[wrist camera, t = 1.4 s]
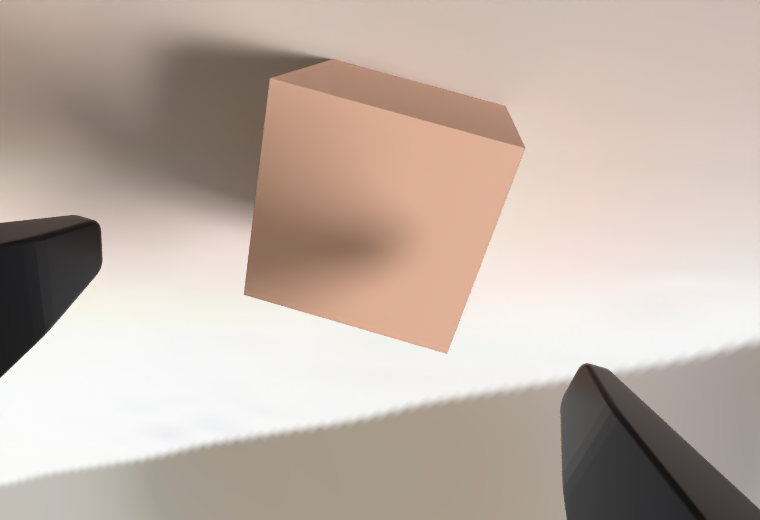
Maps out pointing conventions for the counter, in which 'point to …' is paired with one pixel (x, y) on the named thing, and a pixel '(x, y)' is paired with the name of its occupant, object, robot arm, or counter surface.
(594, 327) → the counter surface
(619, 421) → the robot arm
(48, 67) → the counter surface
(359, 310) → the terracotta block
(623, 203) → the counter surface
